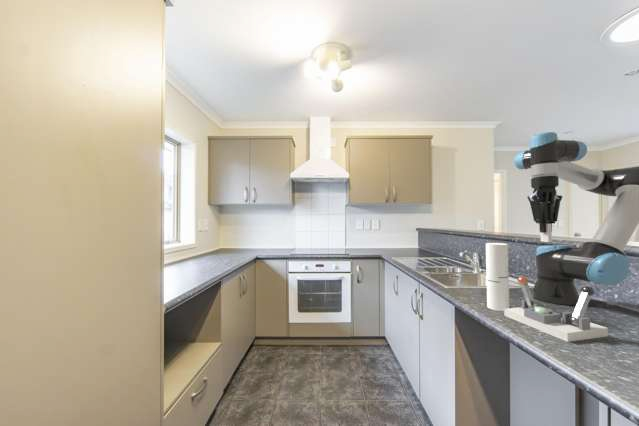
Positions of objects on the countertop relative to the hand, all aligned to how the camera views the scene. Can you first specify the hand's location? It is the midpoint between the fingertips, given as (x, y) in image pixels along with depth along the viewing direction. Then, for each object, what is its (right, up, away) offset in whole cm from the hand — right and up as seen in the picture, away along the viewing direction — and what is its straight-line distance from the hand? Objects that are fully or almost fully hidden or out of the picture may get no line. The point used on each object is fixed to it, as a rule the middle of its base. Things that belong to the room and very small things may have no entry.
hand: (546, 241), depth 94 cm
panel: (-6, -26, -9) cm, 28 cm away
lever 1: (-7, -24, -3) cm, 25 cm away
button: (-10, -24, -10) cm, 28 cm away
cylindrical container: (-12, -27, +7) cm, 30 cm away
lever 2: (-5, -23, -16) cm, 29 cm away
